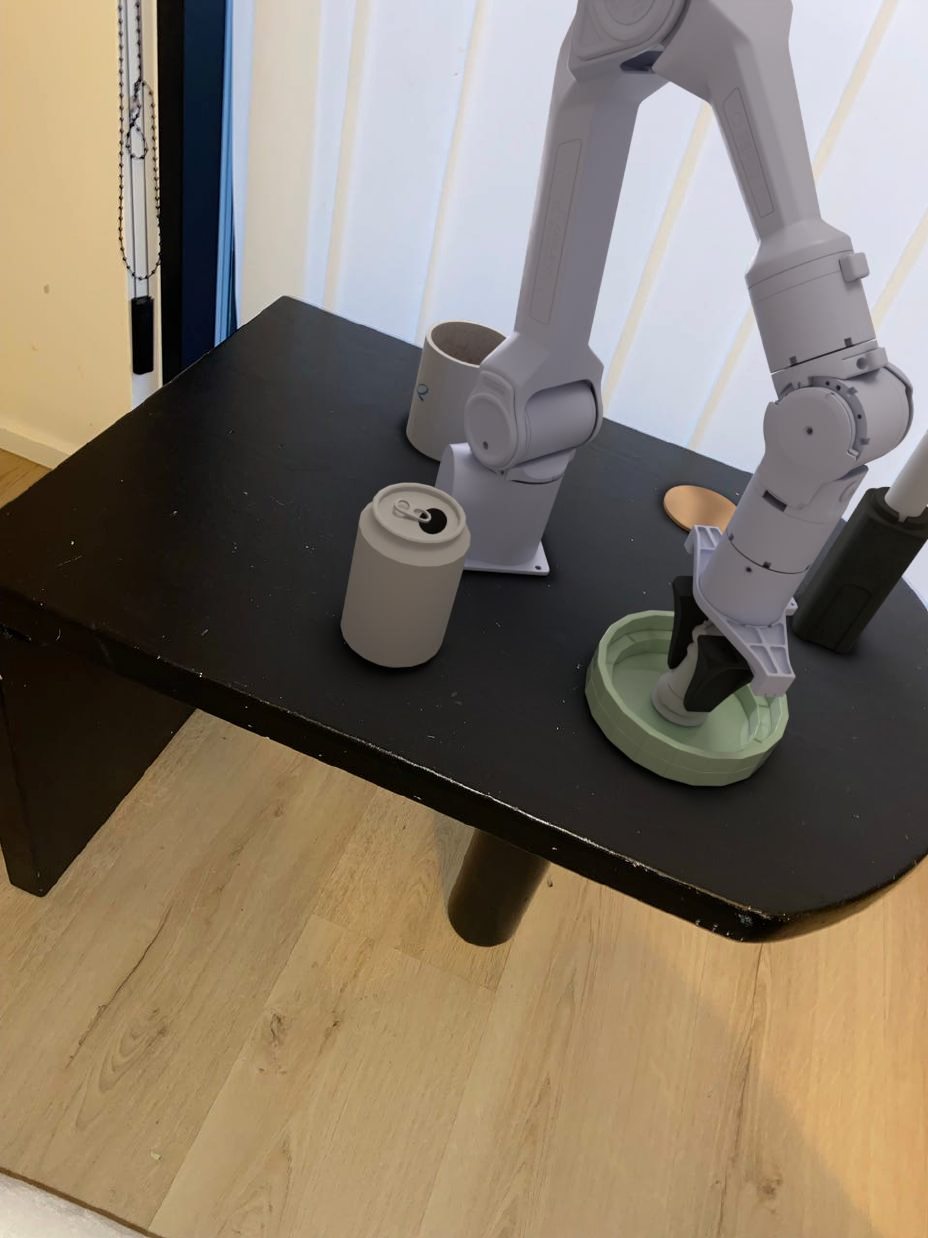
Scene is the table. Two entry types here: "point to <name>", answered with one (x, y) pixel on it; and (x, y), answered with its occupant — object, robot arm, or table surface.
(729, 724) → the dish
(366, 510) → the can
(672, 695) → the rook chess piece
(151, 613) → the table surface
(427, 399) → the mug
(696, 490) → the coaster
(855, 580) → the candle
